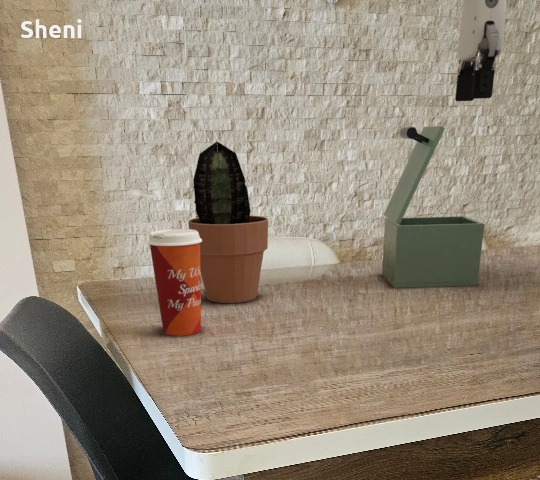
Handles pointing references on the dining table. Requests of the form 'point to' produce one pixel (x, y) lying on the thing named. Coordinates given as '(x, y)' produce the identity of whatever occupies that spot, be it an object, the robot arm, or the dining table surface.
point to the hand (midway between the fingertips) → (472, 99)
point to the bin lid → (413, 169)
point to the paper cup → (177, 279)
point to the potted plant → (227, 228)
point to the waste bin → (432, 251)
